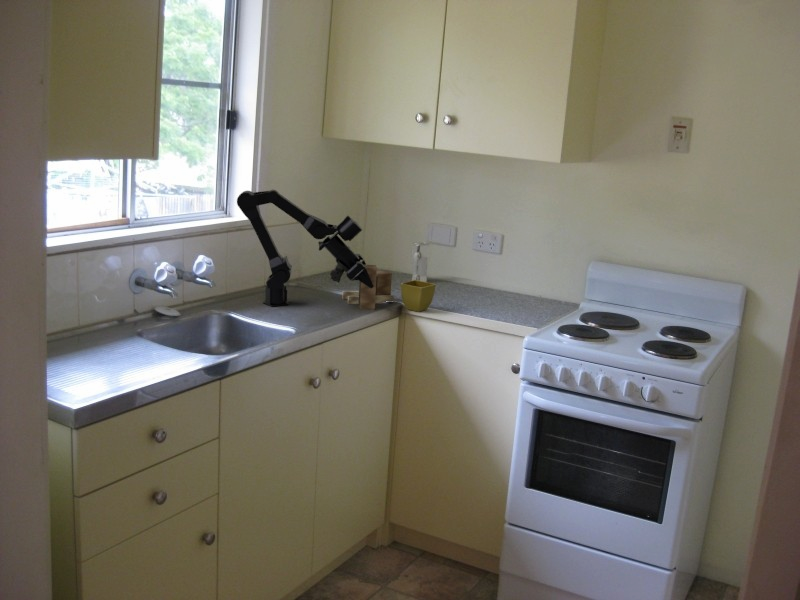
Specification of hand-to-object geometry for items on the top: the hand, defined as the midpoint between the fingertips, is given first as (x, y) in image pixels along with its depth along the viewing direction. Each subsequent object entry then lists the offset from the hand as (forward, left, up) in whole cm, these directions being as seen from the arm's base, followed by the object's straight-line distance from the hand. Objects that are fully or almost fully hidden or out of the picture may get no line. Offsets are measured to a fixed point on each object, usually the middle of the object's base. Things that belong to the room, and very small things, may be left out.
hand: (372, 284), depth 297 cm
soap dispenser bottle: (+42, +25, -8) cm, 50 cm away
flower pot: (+12, -10, -8) cm, 17 cm away
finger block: (-1, +1, -8) cm, 8 cm away
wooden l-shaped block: (+4, +9, -8) cm, 13 cm away
